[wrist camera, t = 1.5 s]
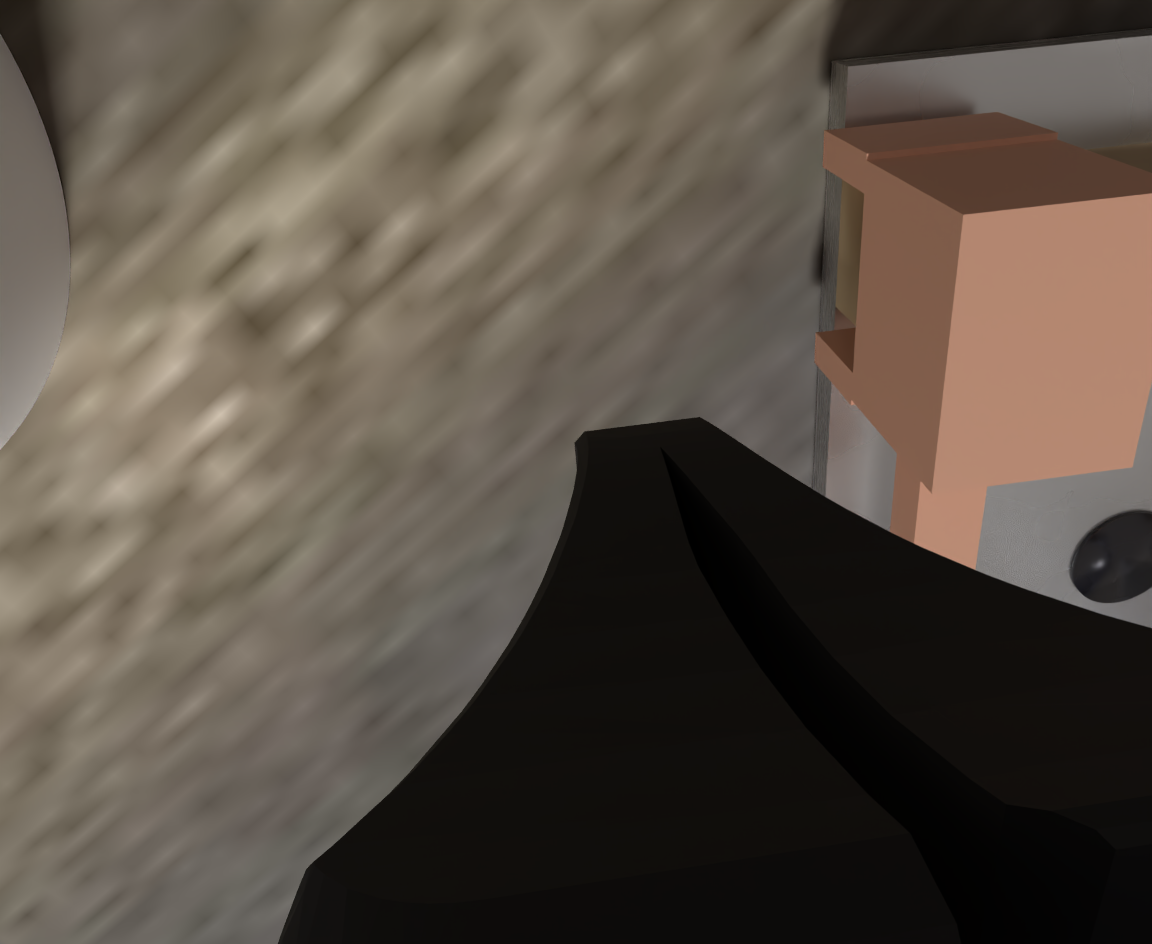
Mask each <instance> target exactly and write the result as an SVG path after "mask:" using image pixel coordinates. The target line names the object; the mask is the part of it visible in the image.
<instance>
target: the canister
mask: <svg viewBox="0 0 1152 944" xmlns="http://www.w3.org/2000/svg"><path fill="white" fill-rule="evenodd" d="M69 287H70V242H69V230H68V221H67V214H66V207H65V201H64V196H63V190H62V186H61V181H60V177H59V173H58V169H57V165H56V162H55V158H54V155H53V151H52V148H51V145H50V142H49V139H48V136H47V133H46V130H45V127H44V124H43V122H42V119H41V117H40V114H39V111H38V109H37V106H36V104H35V102H34V99H33V97H32V95H31V92H30V90H29V88H28V86H27V84H26V82H25V79H24V77H23V75H22V73H21V71H20V69H19V67H18V65H17V63H16V61H15V59H14V58H13V56H12V54H11V52H10V50H9V48H8V46H7V45H6V43H5V41H4V39H3V38H2V36H1V34H0V450H1V448H2V447H3V446H4V445H5V444H6V442H7V441H8V440H9V439H10V438H11V436H12V435H13V434H14V433H15V431H16V430H17V429H18V428H19V426H20V425H21V423H22V422H23V421H24V419H25V418H26V416H27V415H28V413H29V412H30V410H31V409H32V407H33V405H34V404H35V402H36V400H37V399H38V397H39V395H40V393H41V391H42V389H43V387H44V385H45V383H46V380H47V378H48V376H49V374H50V371H51V369H52V366H53V363H54V361H55V358H56V355H57V352H58V348H59V345H60V341H61V338H62V333H63V329H64V324H65V319H66V313H67V306H68V298H69Z"/></svg>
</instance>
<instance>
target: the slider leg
mask: <svg viewBox="0 0 1152 944" xmlns="http://www.w3.org/2000/svg"><path fill="white" fill-rule="evenodd" d="M1057 138H1058V132H1055V131H1052V130H1049V129H1046V128H1043V127H1040V126H1037V125H1035V124H1032V123H1029V122H1026V121H1023V120H1020V119H1017V118H1014V117H1011V116H1008V115H1005V114H1002V113H1000V112H991V113H982V114H972V115H963V116H954V117H944V118H935V119H926V120H916V121H907V122H898V123H888V124H879V125H870V126H860V127H851V128H842V129H832V130H824V152H823V167H824V168H825V169H827V170H828V171H830V172H831V173H833V174H835V175H836V176H838V177H839V178H841V179H842V180H844V181H845V182H847V183H849V184H850V185H852V186H853V187H855V188H856V189H858V190H859V191H861V192H863V193H864V206H863V222H862V238H861V253H860V269H859V285H858V301H857V317H856V328H848V329H840V330H832V331H824V332H816V341H815V363H816V365H817V366H818V367H819V368H820V369H821V371H822V372H823V373H824V374H825V375H826V376H827V378H828V379H829V380H830V381H831V382H832V384H833V385H834V386H835V387H836V388H837V389H838V391H839V392H840V393H841V394H842V395H843V397H844V398H845V399H846V400H847V401H848V402H849V404H850V405H856V406H857V407H858V408H859V410H860V411H861V412H862V413H863V414H864V415H865V417H866V418H867V419H868V420H869V421H870V422H871V424H872V425H873V426H874V427H875V428H876V429H877V431H878V432H879V433H880V434H881V435H882V436H883V438H884V439H885V440H886V441H887V442H888V443H889V445H890V446H891V447H892V448H893V449H894V450H895V452H896V453H897V458H896V469H895V480H894V491H893V502H892V513H891V524H890V532H891V533H893V534H895V535H897V536H899V537H901V538H903V539H906V540H908V541H910V542H912V543H914V544H916V545H918V546H920V547H923V548H925V549H927V550H929V551H932V552H934V553H937V554H939V555H941V556H944V557H946V558H948V559H951V560H953V561H955V562H958V563H960V564H963V565H965V566H967V567H970V568H972V569H974V570H975V568H976V561H977V554H978V547H979V540H980V533H981V526H982V519H983V513H984V506H985V499H986V492H987V487H988V486H995V485H1003V484H1010V483H1018V482H1026V481H1033V480H1041V479H1048V478H1056V477H1063V476H1071V475H1078V474H1086V473H1094V472H1101V471H1109V470H1116V469H1124V468H1131V467H1133V463H1134V458H1135V454H1136V449H1137V445H1138V441H1139V436H1140V432H1141V427H1142V423H1143V418H1144V414H1145V410H1146V405H1147V401H1148V396H1149V392H1150V387H1151V383H1152V173H1150V172H1148V171H1145V170H1142V169H1139V168H1136V167H1134V166H1131V165H1128V164H1125V163H1122V162H1119V161H1117V160H1114V159H1111V158H1108V157H1105V156H1103V155H1100V154H1097V153H1094V152H1091V151H1088V150H1086V149H1083V148H1080V147H1077V146H1074V145H1072V144H1069V143H1066V142H1063V141H1060V140H1057Z"/></svg>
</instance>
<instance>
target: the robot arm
mask: <svg viewBox="0 0 1152 944" xmlns="http://www.w3.org/2000/svg"><path fill="white" fill-rule="evenodd" d="M575 452H576V464H577V474H576V479H575V485H574V490H573V495H572V498H571V502H570V505H569V509H568V513H567V516H566V520H565V523H564V527H563V530H562V533H561V536H560V539H559V541H558V543H557V546H556V548H555V551H554V553H553V556H552V558H551V561H550V563H549V566H548V568H547V571H546V573H545V576H544V578H543V580H542V583H541V585H540V587H539V589H538V591H537V593H536V595H535V597H534V599H533V601H532V603H531V605H530V607H529V609H528V611H527V613H526V615H525V616H524V618H523V620H522V622H521V624H520V625H519V627H518V629H517V631H516V632H515V634H514V636H513V638H512V639H511V641H510V643H509V644H508V646H507V647H506V649H505V650H504V652H503V653H502V655H501V656H500V658H499V659H498V661H497V662H496V664H495V666H494V667H493V669H492V670H491V672H490V673H489V675H488V676H487V678H486V679H485V681H484V682H483V684H482V685H481V686H480V688H479V689H478V691H477V692H476V693H475V695H474V696H473V697H472V699H471V700H470V701H469V703H468V704H467V705H466V707H465V708H464V709H463V711H462V712H461V713H460V714H459V715H458V717H457V718H456V719H455V720H454V721H453V722H452V724H451V725H450V726H449V727H448V728H447V729H446V731H445V732H444V733H443V734H442V735H441V736H440V738H439V739H438V740H437V741H436V742H435V743H434V745H433V746H432V747H431V748H430V749H429V750H428V752H427V753H426V754H425V755H424V756H423V757H422V759H421V760H420V761H419V762H418V763H417V764H416V766H415V767H414V768H413V769H412V770H411V771H410V773H409V774H408V775H407V776H406V777H405V778H404V779H403V780H402V781H401V782H400V783H399V784H398V785H397V786H396V787H395V788H394V789H393V790H392V791H391V792H390V793H389V794H388V795H387V796H386V797H385V798H384V799H383V800H382V801H381V802H380V803H379V804H377V805H376V806H375V807H374V808H373V809H372V810H371V811H370V812H369V813H368V814H367V815H366V816H364V817H363V818H362V819H361V820H360V821H359V822H358V823H357V824H356V825H355V826H354V827H353V828H351V829H350V830H349V831H348V832H347V833H346V834H345V835H344V836H343V837H342V838H341V839H340V840H338V841H337V842H336V843H335V844H334V845H333V846H332V847H331V848H329V849H328V850H327V851H326V852H325V853H323V854H322V855H321V856H320V857H319V858H318V859H316V860H315V861H314V862H313V863H312V864H311V865H310V866H309V867H308V868H307V869H306V871H305V874H304V876H303V878H302V881H301V883H300V886H299V888H298V891H297V893H296V896H295V899H294V901H293V904H292V907H291V909H290V912H289V915H288V917H287V920H286V923H285V925H284V928H283V931H282V933H281V936H280V939H279V942H278V944H1152V628H1150V627H1146V626H1143V625H1139V624H1135V623H1132V622H1128V621H1125V620H1121V619H1118V618H1114V617H1110V616H1107V615H1104V614H1100V613H1097V612H1094V611H1091V610H1088V609H1085V608H1082V607H1079V606H1076V605H1073V604H1069V603H1066V602H1063V601H1060V600H1057V599H1054V598H1051V597H1048V596H1045V595H1042V594H1039V593H1036V592H1033V591H1030V590H1027V589H1024V588H1021V587H1019V586H1016V585H1013V584H1010V583H1008V582H1005V581H1002V580H1000V579H997V578H994V577H992V576H989V575H986V574H984V573H981V572H979V571H977V570H974V569H972V568H970V567H967V566H965V565H963V564H960V563H958V562H955V561H953V560H951V559H948V558H946V557H944V556H941V555H939V554H937V553H934V552H932V551H929V550H927V549H925V548H923V547H920V546H918V545H916V544H914V543H912V542H910V541H908V540H906V539H903V538H901V537H899V536H897V535H895V534H893V533H891V532H889V531H887V530H885V529H884V528H882V527H880V526H878V525H876V524H874V523H872V522H870V521H868V520H867V519H865V518H863V517H861V516H859V515H857V514H855V513H853V512H851V511H850V510H848V509H846V508H844V507H842V506H841V505H839V504H837V503H835V502H834V501H832V500H830V499H828V498H827V497H825V496H823V495H821V494H820V493H818V492H816V491H815V490H813V489H811V488H810V487H808V486H806V485H805V484H803V483H802V482H800V481H798V480H797V479H795V478H794V477H792V476H790V475H789V474H787V473H786V472H784V471H782V470H781V469H779V468H778V467H776V466H775V465H773V464H772V463H770V462H768V461H767V460H765V459H764V458H762V457H761V456H759V455H758V454H756V453H755V452H753V451H752V450H750V449H749V448H747V447H746V446H744V445H743V444H741V443H740V442H738V441H737V440H735V439H734V438H732V437H731V436H729V435H728V434H726V433H725V432H723V431H722V430H720V429H719V428H717V427H716V426H714V425H712V424H711V423H709V422H707V421H706V420H704V419H702V418H700V417H697V418H689V419H681V420H673V421H665V422H657V423H649V424H641V425H633V426H625V427H617V428H610V429H602V430H594V431H586V432H584V433H583V434H582V435H581V436H580V437H579V439H578V440H577V441H576V442H575Z"/></svg>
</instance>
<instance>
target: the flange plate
mask: <svg viewBox="0 0 1152 944" xmlns="http://www.w3.org/2000/svg"><path fill="white" fill-rule="evenodd" d="M991 112H1000V113H1002V114H1005V115H1008V116H1011V117H1014V118H1017V119H1020V120H1023V121H1026V122H1029V123H1032V124H1035V125H1037V126H1040V127H1043V128H1046V129H1049V130H1052V131H1055V132H1058V138H1057V140H1060V141H1063V142H1066V143H1069V144H1072V145H1074V146H1077V147H1080V148H1083V149H1086V150H1087V149H1096V148H1105V147H1114V146H1123V145H1132V144H1141V143H1150V142H1152V28H1147V29H1137V30H1127V31H1117V32H1108V33H1098V34H1088V35H1078V36H1069V37H1059V38H1049V39H1039V40H1030V41H1020V42H1010V43H1000V44H990V45H981V46H971V47H961V48H951V49H942V50H932V51H922V52H912V53H903V54H893V55H883V56H873V57H864V58H854V59H844V60H834V61H832V63H831V85H830V108H829V130H832V129H842V128H851V127H860V126H870V125H879V124H888V123H898V122H907V121H916V120H926V119H935V118H944V117H954V116H963V115H972V114H982V113H991ZM841 192H842V179H841V178H839V177H838V176H836V175H835V174H833V173H831V172H830V171H828V170H827V176H826V198H825V221H824V243H823V266H822V288H821V311H820V332H824V331H832V330H840V329H848V328H856V326H855V325H854V324H853V323H852V322H851V321H850V320H849V319H848V318H847V317H846V316H845V315H844V314H843V313H842V312H841V311H840V310H839V309H838V308H836V288H837V269H838V250H839V230H840V211H841ZM896 458H897V453H896V452H895V450H894V449H893V448H892V447H891V446H890V445H889V443H888V442H887V441H886V440H885V439H884V438H883V436H882V435H881V434H880V433H879V432H878V431H877V429H876V428H875V427H874V426H873V425H872V424H871V422H870V421H869V420H868V419H867V418H866V417H865V415H864V414H863V413H862V412H861V411H860V410H859V408H858V407H857V406H856V405H850V404H849V402H848V401H847V400H846V399H845V398H844V397H843V395H842V394H841V393H840V392H839V391H838V389H837V388H836V387H835V386H834V385H833V384H832V382H831V381H830V380H829V379H828V378H827V376H826V375H825V374H824V373H823V372H822V371H821V369H820V368H819V367H818V378H817V401H816V423H815V446H814V468H813V490H815V491H816V492H818V493H820V494H821V495H823V496H825V497H827V498H828V499H830V500H832V501H834V502H835V503H837V504H839V505H841V506H842V507H844V508H846V509H848V510H850V511H851V512H853V513H855V514H857V515H859V516H861V517H863V518H865V519H867V520H868V521H870V522H872V523H874V524H876V525H878V526H880V527H882V528H884V529H885V530H887V531H889V532H890V524H891V513H892V502H893V491H894V480H895V469H896ZM975 570H977V571H979V572H981V573H984V574H986V575H989V576H992V577H994V578H997V579H1000V580H1002V581H1005V582H1008V583H1010V584H1013V585H1016V586H1019V587H1021V588H1024V589H1027V590H1030V591H1033V592H1036V593H1039V594H1042V595H1045V596H1048V597H1051V598H1054V599H1057V600H1060V601H1063V602H1066V603H1069V604H1073V605H1076V606H1079V607H1082V608H1085V609H1088V610H1091V611H1094V612H1097V613H1100V614H1104V615H1107V616H1110V617H1114V618H1118V619H1121V620H1125V621H1128V622H1132V623H1135V624H1139V625H1143V626H1146V627H1150V628H1152V383H1151V387H1150V392H1149V396H1148V401H1147V405H1146V410H1145V414H1144V418H1143V423H1142V427H1141V432H1140V436H1139V441H1138V445H1137V449H1136V454H1135V458H1134V463H1133V467H1131V468H1124V469H1116V470H1109V471H1101V472H1094V473H1086V474H1078V475H1071V476H1063V477H1056V478H1048V479H1041V480H1033V481H1026V482H1018V483H1010V484H1003V485H995V486H988V487H987V492H986V499H985V506H984V513H983V519H982V526H981V533H980V540H979V547H978V554H977V561H976V568H975Z"/></svg>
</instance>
